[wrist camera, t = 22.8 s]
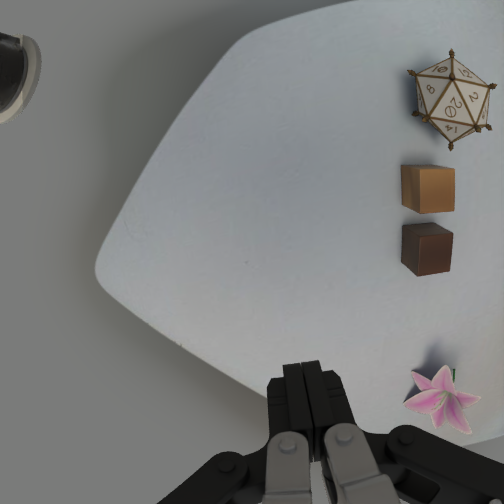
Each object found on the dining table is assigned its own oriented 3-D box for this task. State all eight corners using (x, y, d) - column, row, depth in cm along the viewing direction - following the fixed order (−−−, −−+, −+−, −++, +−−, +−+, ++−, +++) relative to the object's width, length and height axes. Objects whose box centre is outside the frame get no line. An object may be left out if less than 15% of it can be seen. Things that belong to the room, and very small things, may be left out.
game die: (422, 122, 30) (463, 184, 24) (374, 78, 26) (417, 138, 20) (474, 75, 23) (529, 131, 18) (432, 21, 20) (496, 67, 14)
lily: (435, 326, 35) (430, 383, 28) (499, 355, 32) (502, 412, 24) (394, 377, 42) (380, 428, 35) (452, 400, 39) (445, 451, 32)
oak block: (400, 165, 28) (419, 169, 24) (433, 164, 28) (454, 168, 24) (401, 205, 29) (420, 214, 25) (434, 202, 29) (454, 211, 25)
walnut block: (402, 225, 30) (419, 236, 26) (434, 222, 30) (453, 232, 26) (400, 262, 31) (417, 276, 27) (431, 257, 31) (450, 271, 27)
